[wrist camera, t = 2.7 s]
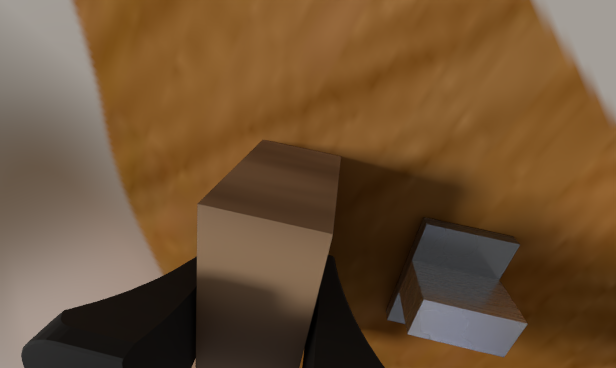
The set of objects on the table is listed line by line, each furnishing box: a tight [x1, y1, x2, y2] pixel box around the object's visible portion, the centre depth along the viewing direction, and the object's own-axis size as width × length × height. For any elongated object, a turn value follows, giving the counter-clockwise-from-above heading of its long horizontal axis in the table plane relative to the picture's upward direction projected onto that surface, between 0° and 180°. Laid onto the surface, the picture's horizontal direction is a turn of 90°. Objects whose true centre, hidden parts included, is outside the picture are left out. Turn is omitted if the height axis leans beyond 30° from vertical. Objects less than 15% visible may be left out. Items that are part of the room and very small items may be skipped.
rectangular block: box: [196, 140, 341, 368], centre depth 12 cm, size 10×4×6 cm, turn 170°
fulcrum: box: [386, 217, 528, 357], centre depth 13 cm, size 6×4×3 cm, turn 170°
